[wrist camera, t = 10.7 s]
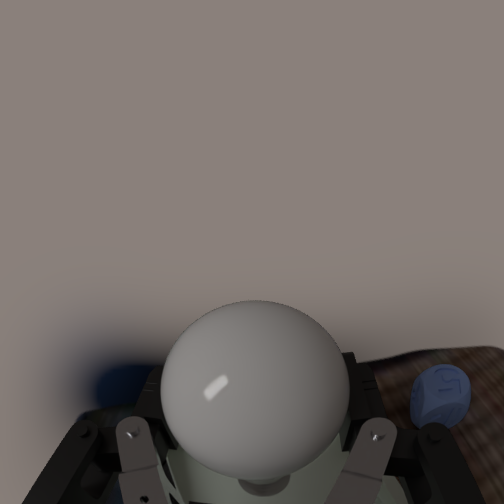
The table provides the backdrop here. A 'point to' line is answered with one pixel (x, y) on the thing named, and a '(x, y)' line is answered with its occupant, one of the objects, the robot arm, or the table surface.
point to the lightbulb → (255, 393)
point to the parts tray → (289, 500)
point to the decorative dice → (440, 396)
